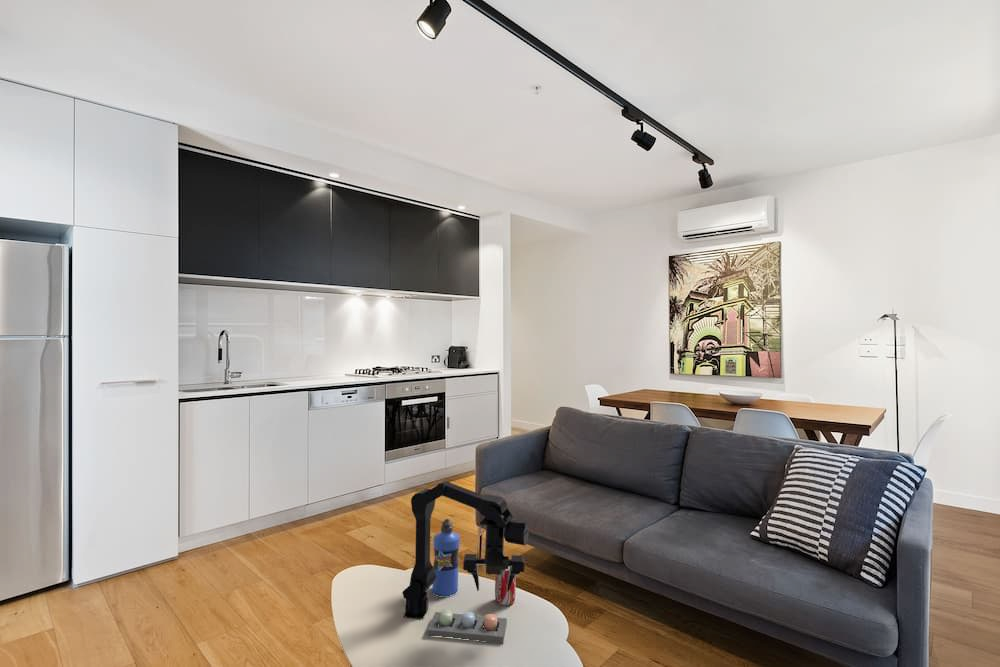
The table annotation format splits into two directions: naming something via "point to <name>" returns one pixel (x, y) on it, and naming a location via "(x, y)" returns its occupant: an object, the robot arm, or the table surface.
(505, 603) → the soda can
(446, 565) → the water bottle
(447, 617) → the sage button
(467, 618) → the blue button
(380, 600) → the table surface
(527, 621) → the table surface
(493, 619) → the terracotta button
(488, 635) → the button panel
